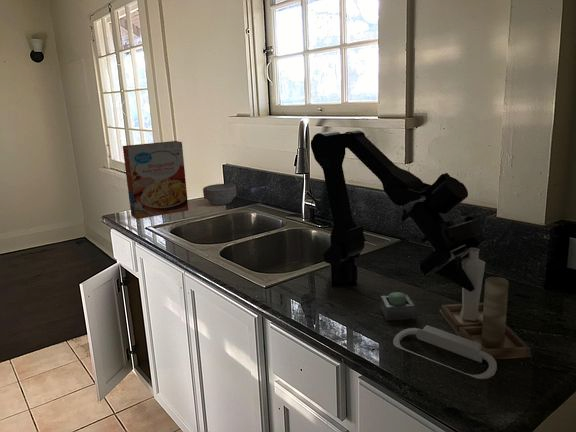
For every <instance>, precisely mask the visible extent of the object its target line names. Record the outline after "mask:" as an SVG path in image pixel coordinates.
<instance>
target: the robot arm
mask: <svg viewBox="0 0 576 432" xmlns="http://www.w3.org/2000/svg"><path fill="white" fill-rule="evenodd" d="M310 148H311V150H312V154H313V157H314V160H315V161H316V162H317V164H318V165H319V166H320V167H321V169H322V172H323V175H324V182H325V186H326V187H325V188H326V192H327V197H328V202H329V207H330V211H331V213H330V214H331V218H332V222H333V223H332V224H333V226H332V229H331V232H330V236H329V238H330V247H329V248H328V249H326V250H325V252H324V253H323V254H322V258H323V260H324V263H327V264H328V265H329V276H328V279H329V283H330V286H331V287H332V288H339V287H356V286H357V284H358V283H357V281H358V265H357V264H356V261H355V260H356V259H358V258H360V256H361V254H362V252H363V250H364V249H365V245H366V244H365V242H366V241H367V240H366V237H365V234H364V233H365V232H364V227H363V226H362V225H361V226H358V225H357V224H356V223H355V222H354V219H353V215H352V209H351V205H350V204H351V203H350V199H349V193H348V189H347V183H346V180H345V179H346V178H345V173H344V168H343V164H344V159H345V156H346V149H348V150H349V151H350V152H351V153H352V154H353V155H355V157H356V158H358V160H359V161H360V162H361V163H362V164H364V166H366V168H367V169H368V170H369V171H370V172H372V174H373V175H374V176H375V177H376V178H377V179H378V180H379V181H380V182H381V185H382V189H383V192H384V193H385V194H386V196H387V198H389V200H390V201H391V202H392V203H393V204H394V205H395V206H398V207H400V206H401V207H402V206H407V205H410V204H413V203H414V204H413V205H412V206H411V207H406V208H404V209H402V215H401V222H406V221H407V222H408V221H409V220H411V221H412V222H413V224H414V225H415V226H416V228H417V229H418V231H419V232H420V233H421V235H422V236H423V237H422V238H421V239H420V240H421V241H422V243H423V244H425V243H428V244H429V245H430V247H431V248H432V249H433V251H432V252H431V253H430V254H428V255H427V256H425V258H423V259H422V260H420V262H419V263H418V270H419V271H420V273H421V274H422V276H423V277H425V276H427V275H429V274H431V273H433V271H434V269H438V270H436V271H435V272H434V274H435V275H436V276H437V275H439V276H441V277H442V278H445V279H446V280H448V281H451V282H453V283H454V284H456V285H458V286H460V287H461V288H462V287H463V288H465V289H466V290H468V291H470V292H471V291H473V290H474V289H475V288H474V286H473V284H472V283H471V281H470V279H469V278H468V276H467V275H466V273H465V271H464V270H463V268H462V259H465V258H468V257H469V248H477V249H480V250H481V245H483V243H485V242H486V241H487V239H486V237H485V236H484V235H483V234H484V232H483V229H482V227H483V226H484V221H483V220H481V218H480V217H479V216H477V214H476V213H473V214H470V215H467V216H466V217H464V222H461V223H458V224H456V223H455V222H454V221H453V220H450V219H449V220H446V219H445V217H444V216H443V215H442V214H444V215H447V214H449V213H450V212H452V211H453V210H454V209H455V208H456V207H457V206H458V205H460V204H461V203H462V202H463V201H464V200H466V199H467V198H468V196H469V192H468V189H467V187H466V185H465V184H464V183H463V182H461V181H460V180H458V179H456V178H455V177H452V176H451V175H450V174H449V173H448V172H446V173H445V172H444V173H442V174H441V175H439V176H438V177H437V179H436V181H434V182H433V183H432V184H430V183H426V182H424V181H422V179H421V178H419V177H418V176H416V175H415V174H413V173H412V172H411V171H408V170H406V169H404V168H401V167H399V166H398V165H396V164H395V163H394V162H393V161H392V160H391V159H390V158H388V156H386V155H385V154H384V152H383V151H381V149H379V148H378V147H377V146H376V145H375V144H374V143H373V142H372V141H371V140H370V139H369V138H367V136H366V134H365V133H364V132H363V131H362V130H359V129H357V130H350V131H345V132H344V133H341V132H340V131H337V130H332V131H325V132H318V133H316V134H314V135H313V136H312V139H311V141H310ZM422 199H424V200H422ZM420 200H422V201H420ZM485 279H486V278H485V275H483V281H482V286H483V285H485Z"/></svg>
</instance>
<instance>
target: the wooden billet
mask: <svg viewBox="0 0 576 432" xmlns="http://www.w3.org/2000/svg"><path fill="white" fill-rule="evenodd" d="M509 284H510V283H509V280H508V279H506V278H504V277H499V276H488V277H486V278H485V283H484V289H483V290H484V292H483V303H484V308H483V325H482V342H481V343H482V345H483V346H484V347H486V348H488V349H494V348H504V340H505V326H506V323H507V311H508V310H507V309H508V296H509V295H508V294H509Z"/></svg>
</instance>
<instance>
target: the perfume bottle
mask: <svg viewBox="0 0 576 432" xmlns="http://www.w3.org/2000/svg"><path fill="white" fill-rule="evenodd" d="M480 250H481V248H480V249H477V248H469V257H468V258H465V259H462V268H463V270H464V271H465V273H466V275H467V276H468V278H469V279H470V281H471V283H472V284H473V286H474V288H475V289H474V290H473V291H471V292H470V291H468V290H466V289H465V288H463V287H461V292H462V293H461V295H462V296H461V300H462V301H461V302H462V303H461V304H462V310H461V313H460V315H461V317H462V319H466V320H472V321H475V320H476V319H478V318H479V313H478V307H479V303H480V300H481V294H482V293H481V292H482V287H483V285H482V281H483V275H484V274H485V267H486V261H484V260H482V259H480V258H479V256H480ZM484 276H485V275H484Z"/></svg>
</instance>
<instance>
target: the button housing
mask: <svg viewBox="0 0 576 432" xmlns="http://www.w3.org/2000/svg"><path fill="white" fill-rule="evenodd" d="M405 295H406V304H405V305H390V304H389V295H380V310H381V312H382V314H383V316H384V318H385V320H386V321H398V320H399V321H401V320H402V321H403V320H415V312H416V311H415V309H416V307H415V306H416V305H415V304H414V303H413V301H412V299H411V298H410V297H409V296H410V295H408V294H405Z"/></svg>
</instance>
